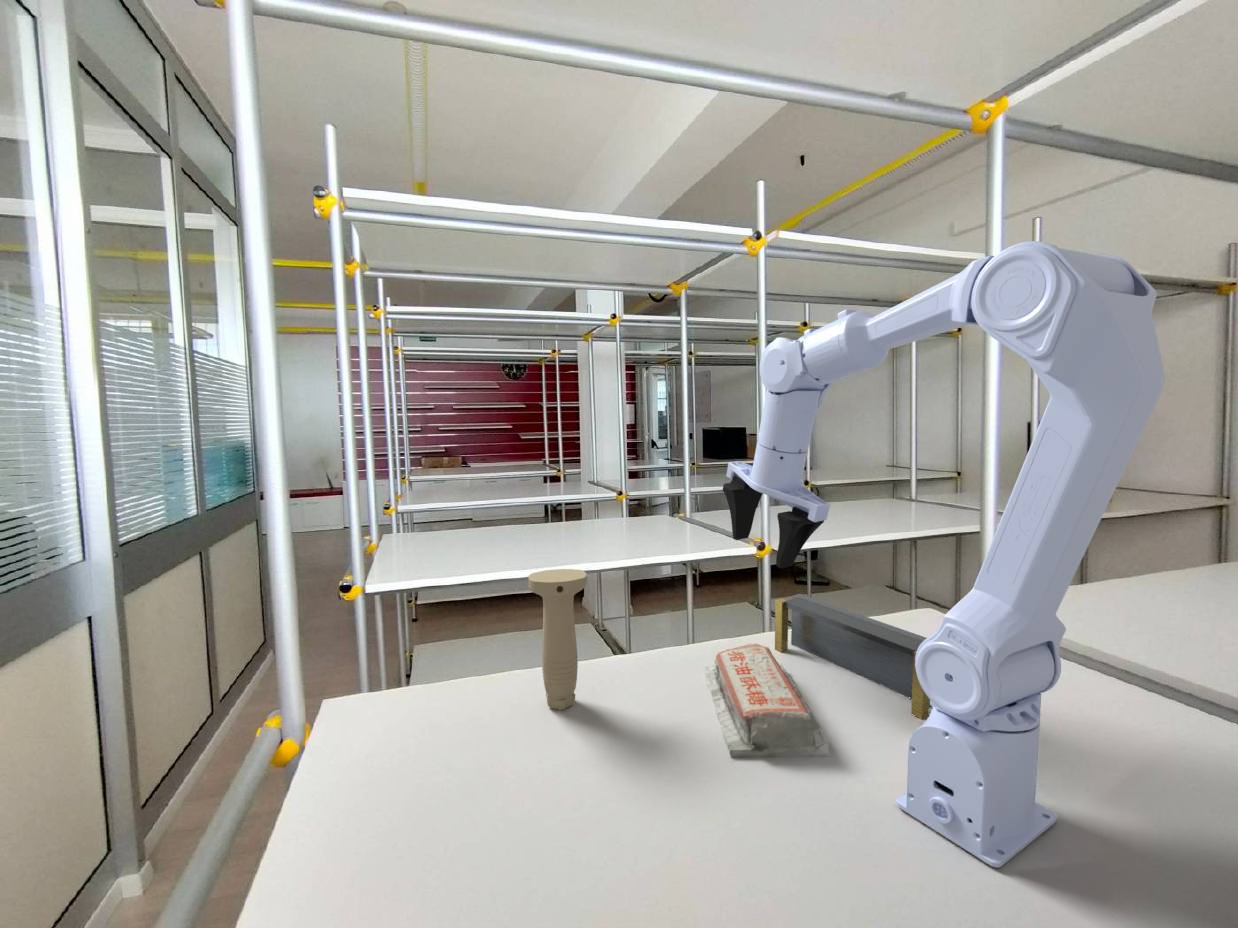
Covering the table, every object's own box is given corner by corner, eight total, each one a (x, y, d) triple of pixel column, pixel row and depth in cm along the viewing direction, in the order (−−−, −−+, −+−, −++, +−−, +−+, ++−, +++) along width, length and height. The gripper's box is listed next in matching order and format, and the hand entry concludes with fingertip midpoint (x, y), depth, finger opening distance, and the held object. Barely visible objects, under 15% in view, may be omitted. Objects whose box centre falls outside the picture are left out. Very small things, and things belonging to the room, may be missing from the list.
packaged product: (834, 713, 54) (729, 714, 54) (833, 761, 54) (729, 762, 55) (781, 637, 72) (702, 638, 72) (781, 674, 72) (702, 674, 72)
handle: (531, 696, 67) (527, 571, 65) (585, 690, 68) (583, 567, 66) (533, 718, 62) (529, 584, 60) (592, 711, 63) (589, 579, 62)
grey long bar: (922, 719, 61) (924, 656, 60) (774, 649, 79) (775, 599, 78) (947, 706, 63) (950, 645, 62) (799, 641, 81) (799, 593, 80)
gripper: (857, 463, 62) (830, 573, 66) (763, 426, 73) (745, 522, 78) (813, 469, 58) (787, 585, 63) (721, 429, 70) (705, 530, 74)
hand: (761, 551), depth 70 cm, fingers open, 7 cm apart
